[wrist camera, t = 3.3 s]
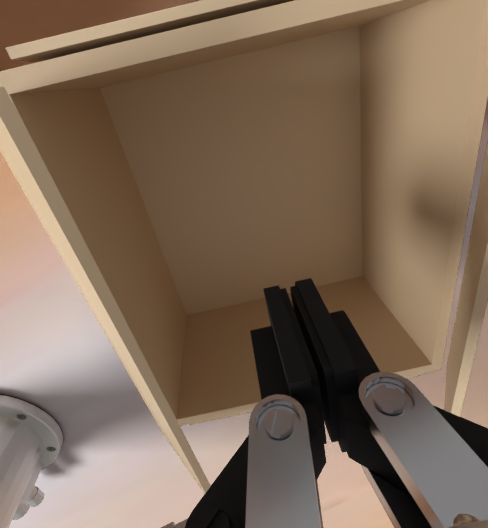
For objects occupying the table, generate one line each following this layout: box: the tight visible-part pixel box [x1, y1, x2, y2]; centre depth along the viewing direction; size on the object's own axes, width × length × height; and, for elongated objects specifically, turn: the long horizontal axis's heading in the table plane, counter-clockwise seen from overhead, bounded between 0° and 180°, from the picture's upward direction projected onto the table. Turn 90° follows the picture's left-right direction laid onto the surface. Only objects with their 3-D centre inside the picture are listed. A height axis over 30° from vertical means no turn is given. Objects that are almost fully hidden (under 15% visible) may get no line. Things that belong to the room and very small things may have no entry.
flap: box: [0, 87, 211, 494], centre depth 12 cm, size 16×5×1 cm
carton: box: [0, 0, 488, 426], centre depth 18 cm, size 19×16×10 cm
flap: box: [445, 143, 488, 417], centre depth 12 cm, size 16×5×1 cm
